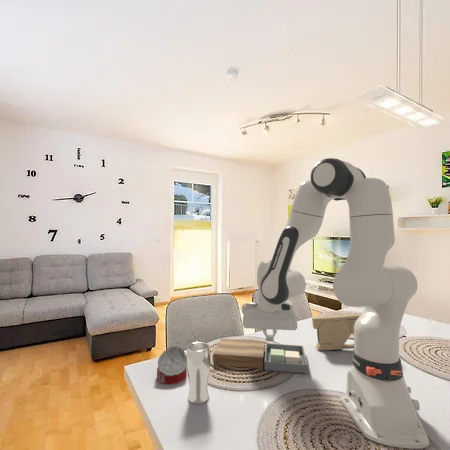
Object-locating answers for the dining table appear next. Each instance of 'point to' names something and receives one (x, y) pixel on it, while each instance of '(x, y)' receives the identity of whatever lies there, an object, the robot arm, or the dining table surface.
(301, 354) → the tray
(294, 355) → the tile
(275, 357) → the tile
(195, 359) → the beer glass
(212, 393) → the dining table surface
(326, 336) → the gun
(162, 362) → the canned food
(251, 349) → the wooden block
